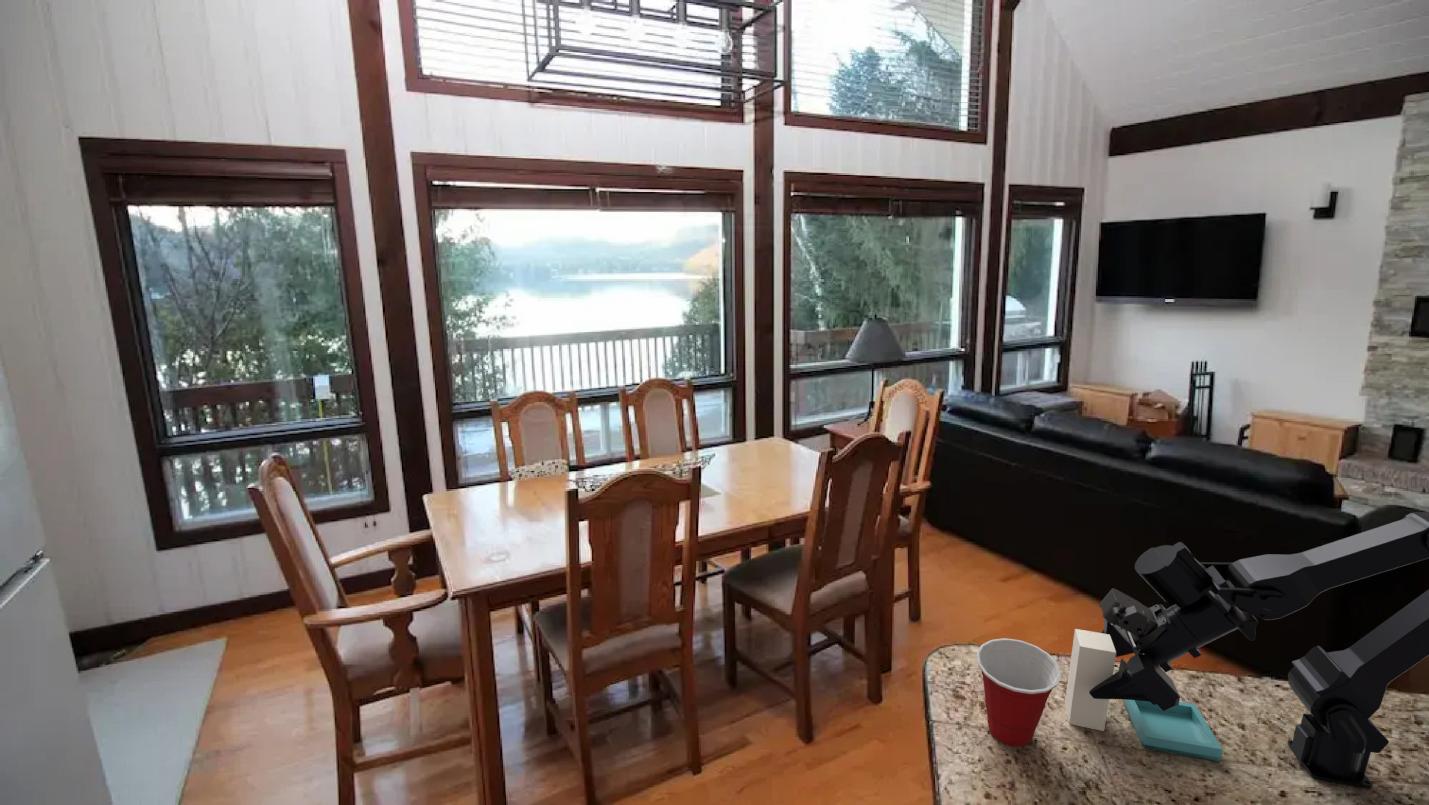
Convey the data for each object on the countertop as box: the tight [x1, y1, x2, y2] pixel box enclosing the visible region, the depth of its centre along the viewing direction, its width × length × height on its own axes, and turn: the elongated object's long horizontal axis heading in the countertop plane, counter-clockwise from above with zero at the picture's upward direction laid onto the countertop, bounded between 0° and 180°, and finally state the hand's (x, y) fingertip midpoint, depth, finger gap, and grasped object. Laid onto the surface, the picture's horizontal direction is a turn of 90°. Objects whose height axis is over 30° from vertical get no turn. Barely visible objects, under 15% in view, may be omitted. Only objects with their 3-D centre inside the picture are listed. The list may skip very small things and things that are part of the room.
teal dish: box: [1123, 700, 1223, 763], centre depth 93 cm, size 9×9×2 cm
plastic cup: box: [976, 637, 1062, 748], centre depth 92 cm, size 11×11×12 cm
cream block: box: [1064, 628, 1117, 732], centre depth 95 cm, size 4×4×13 cm
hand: (1086, 677), depth 95 cm, fingers open, 8 cm apart
